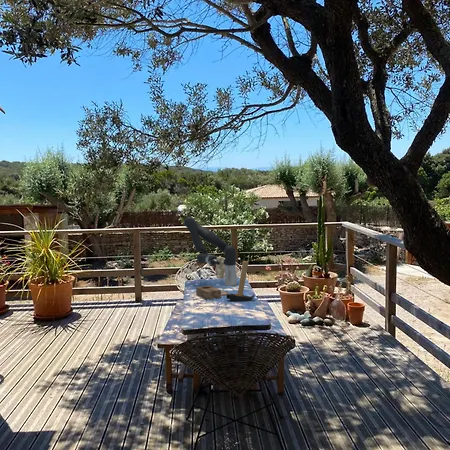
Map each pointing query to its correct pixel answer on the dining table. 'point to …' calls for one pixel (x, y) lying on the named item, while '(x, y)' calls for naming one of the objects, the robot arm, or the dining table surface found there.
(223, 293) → the terracotta tile
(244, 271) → the hammer
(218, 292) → the walnut toolbox
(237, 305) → the dining table surface
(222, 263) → the maple key
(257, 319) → the dining table surface
